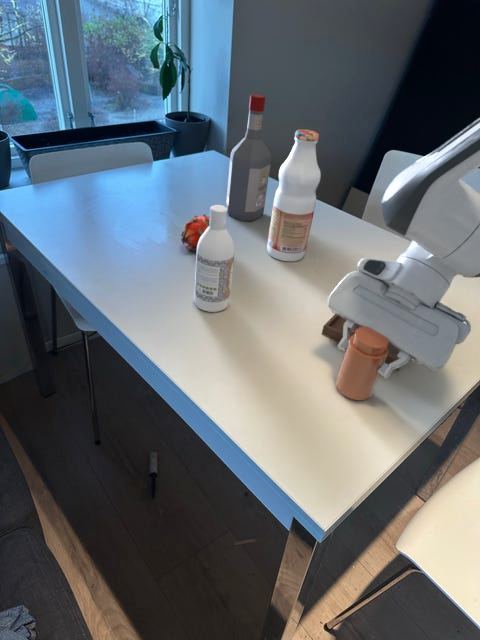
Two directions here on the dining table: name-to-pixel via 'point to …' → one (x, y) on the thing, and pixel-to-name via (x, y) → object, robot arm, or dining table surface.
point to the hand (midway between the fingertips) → (361, 362)
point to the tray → (335, 332)
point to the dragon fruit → (194, 231)
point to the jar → (362, 363)
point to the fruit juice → (295, 199)
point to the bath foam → (214, 263)
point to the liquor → (249, 168)
